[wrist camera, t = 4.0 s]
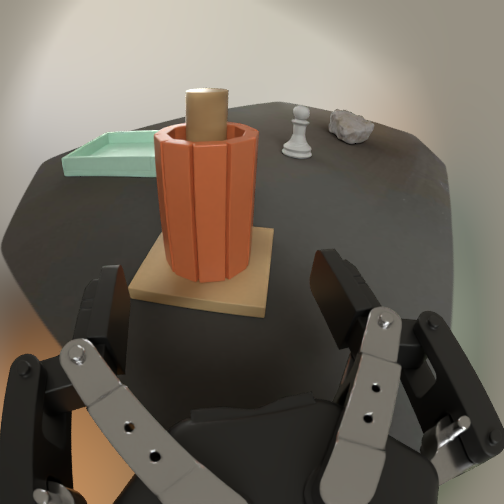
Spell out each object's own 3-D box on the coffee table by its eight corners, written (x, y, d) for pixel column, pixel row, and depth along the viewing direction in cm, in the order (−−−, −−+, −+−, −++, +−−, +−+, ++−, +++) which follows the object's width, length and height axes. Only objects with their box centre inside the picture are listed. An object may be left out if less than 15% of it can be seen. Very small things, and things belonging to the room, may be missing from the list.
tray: (64, 176, 36) (61, 158, 35) (108, 146, 47) (106, 132, 45) (156, 177, 35) (154, 156, 34) (187, 146, 46) (187, 130, 44)
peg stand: (130, 298, 19) (94, 107, 12) (171, 228, 26) (163, 85, 19) (264, 318, 19) (288, 105, 11) (272, 238, 26) (287, 88, 18)
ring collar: (155, 277, 20) (137, 145, 14) (181, 228, 25) (175, 119, 19) (243, 288, 19) (251, 149, 14) (254, 235, 24) (262, 123, 19)
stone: (315, 132, 59) (318, 106, 56) (341, 132, 63) (344, 108, 59) (349, 147, 52) (354, 118, 49) (374, 145, 56) (379, 119, 53)
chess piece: (296, 160, 43) (302, 108, 38) (275, 151, 46) (279, 102, 41) (317, 157, 45) (324, 108, 40) (297, 148, 48) (302, 102, 43)
